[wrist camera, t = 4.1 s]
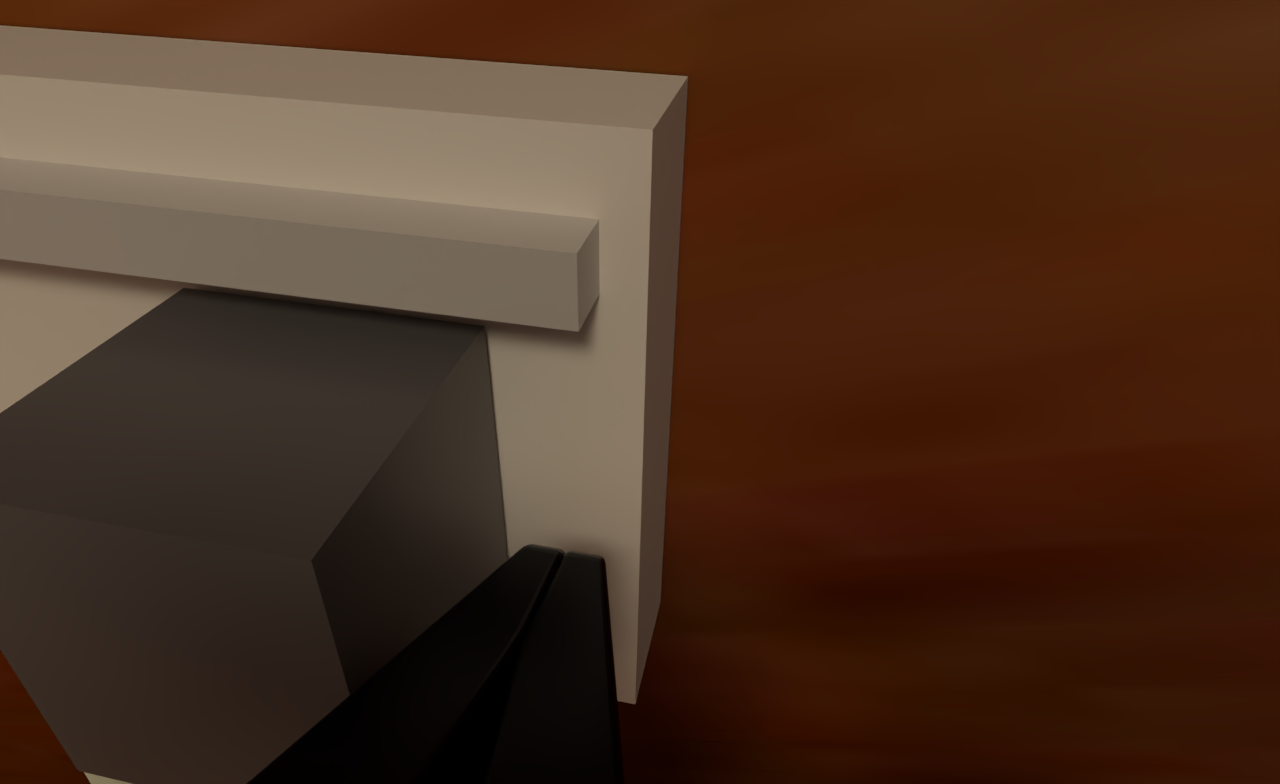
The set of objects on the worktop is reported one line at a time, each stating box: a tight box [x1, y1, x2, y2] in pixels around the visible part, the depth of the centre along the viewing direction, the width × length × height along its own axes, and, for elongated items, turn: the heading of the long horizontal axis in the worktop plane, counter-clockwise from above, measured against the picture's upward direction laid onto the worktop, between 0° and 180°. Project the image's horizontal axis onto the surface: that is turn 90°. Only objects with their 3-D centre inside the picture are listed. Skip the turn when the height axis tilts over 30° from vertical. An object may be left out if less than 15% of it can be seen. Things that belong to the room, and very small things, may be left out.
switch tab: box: [0, 288, 507, 784], centre depth 9 cm, size 4×4×4 cm
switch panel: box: [0, 25, 688, 704], centre depth 11 cm, size 16×8×3 cm, turn 89°
